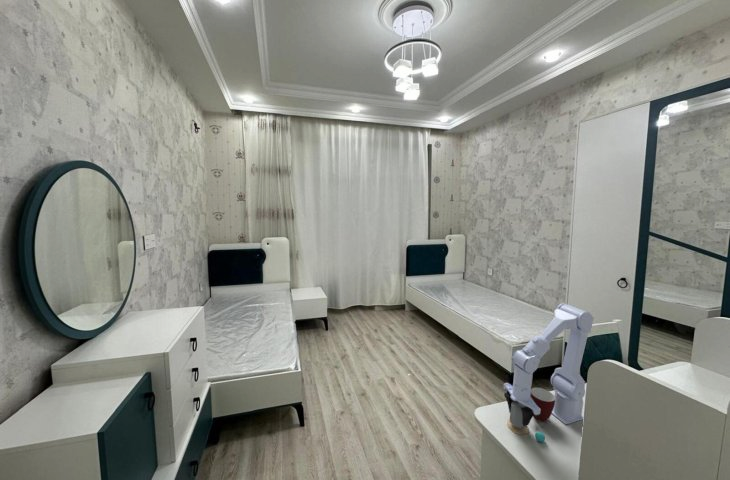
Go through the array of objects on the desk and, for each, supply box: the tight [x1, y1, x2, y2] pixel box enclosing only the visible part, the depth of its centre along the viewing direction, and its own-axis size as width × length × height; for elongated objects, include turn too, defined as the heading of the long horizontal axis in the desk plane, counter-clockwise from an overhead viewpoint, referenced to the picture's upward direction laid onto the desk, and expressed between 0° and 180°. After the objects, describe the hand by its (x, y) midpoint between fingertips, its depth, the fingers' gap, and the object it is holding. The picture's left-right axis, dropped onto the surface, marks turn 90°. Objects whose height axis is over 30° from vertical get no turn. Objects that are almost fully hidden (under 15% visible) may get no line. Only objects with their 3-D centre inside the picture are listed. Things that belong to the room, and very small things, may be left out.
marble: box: [534, 431, 546, 443], centre depth 100 cm, size 3×3×3 cm
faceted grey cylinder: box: [509, 400, 528, 429], centre depth 105 cm, size 6×6×7 cm
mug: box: [530, 387, 555, 423], centre depth 109 cm, size 10×8×10 cm
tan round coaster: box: [506, 418, 530, 436], centre depth 106 cm, size 7×7×1 cm
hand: (518, 418), depth 105 cm, fingers closed on faceted grey cylinder, 5 cm apart
